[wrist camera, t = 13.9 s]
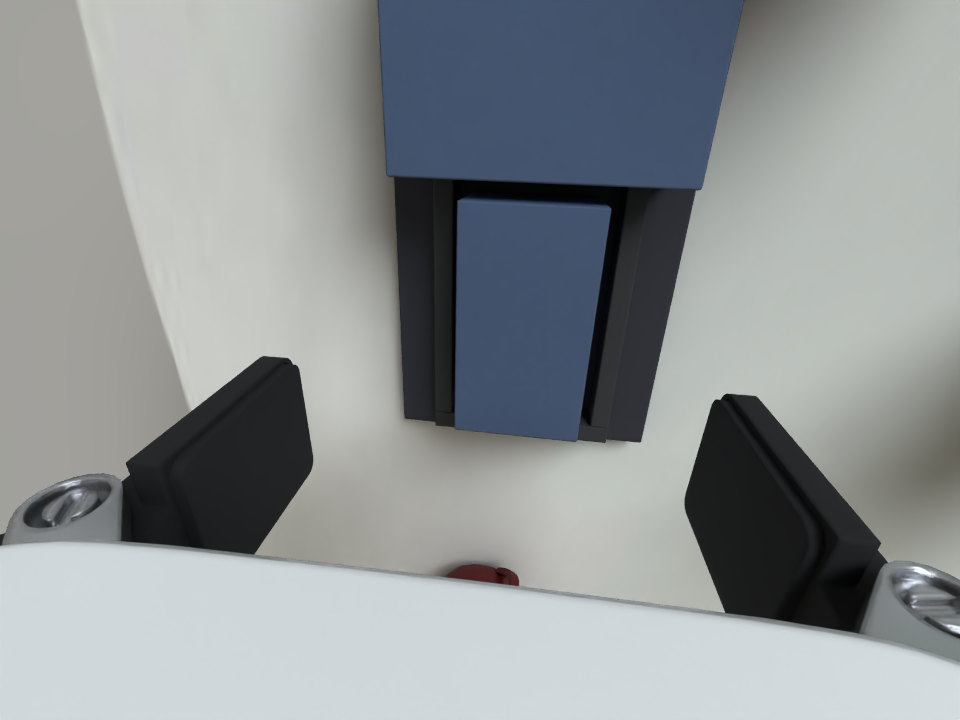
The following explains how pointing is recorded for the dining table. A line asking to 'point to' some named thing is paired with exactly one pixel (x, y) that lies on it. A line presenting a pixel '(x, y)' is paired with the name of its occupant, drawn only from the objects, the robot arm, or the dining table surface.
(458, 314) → the loose pad
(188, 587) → the robot arm
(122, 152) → the dining table surface
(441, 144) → the pad base
